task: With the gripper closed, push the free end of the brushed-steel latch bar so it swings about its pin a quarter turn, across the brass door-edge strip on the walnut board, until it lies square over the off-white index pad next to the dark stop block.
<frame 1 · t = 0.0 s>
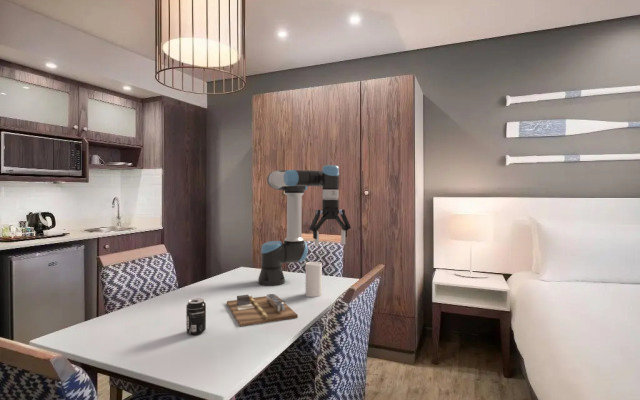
hand: (330, 245, 161), 28 cm above the table, fingers open, 13 cm apart
beverage can: (196, 333, 130), on the table
door board: (260, 310, 154), on the table
latch bar: (275, 301, 154), point 4 cm above the table, hinge at 0.0°
cup: (313, 294, 178), on the table
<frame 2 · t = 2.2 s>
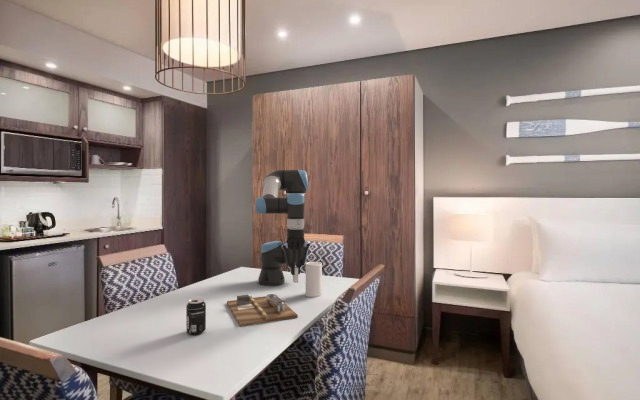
hand: (295, 281, 153), 13 cm above the table, fingers closed
nothing on the table moved.
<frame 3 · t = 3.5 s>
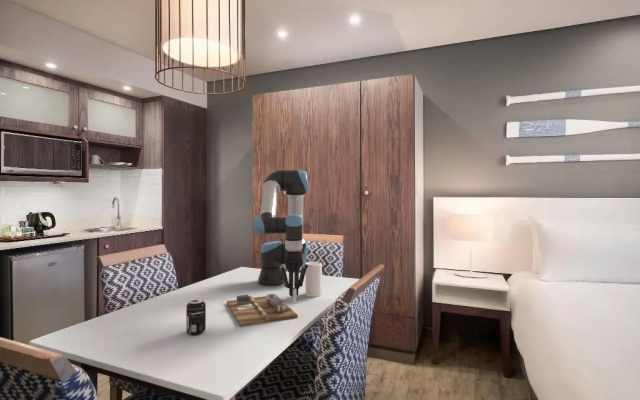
hand: (293, 303, 153), 4 cm above the table, fingers closed
nothing on the table moved.
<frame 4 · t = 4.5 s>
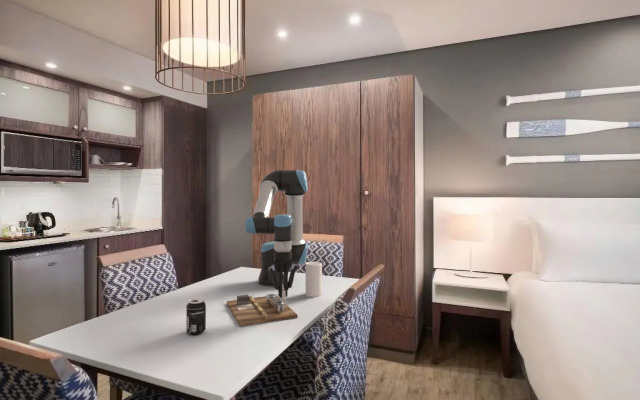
hand: (282, 304, 151), 4 cm above the table, fingers closed
latch bar: (275, 301, 154), point 4 cm above the table, hinge at -0.1°, touching gripper
everything else where it was.
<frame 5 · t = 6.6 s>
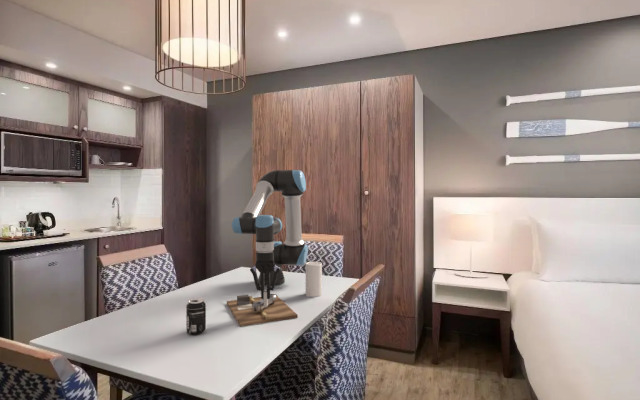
hand: (265, 306, 149), 4 cm above the table, fingers closed
latch bar: (264, 301, 154), point 4 cm above the table, hinge at -43.9°, touching gripper
everything else where it was.
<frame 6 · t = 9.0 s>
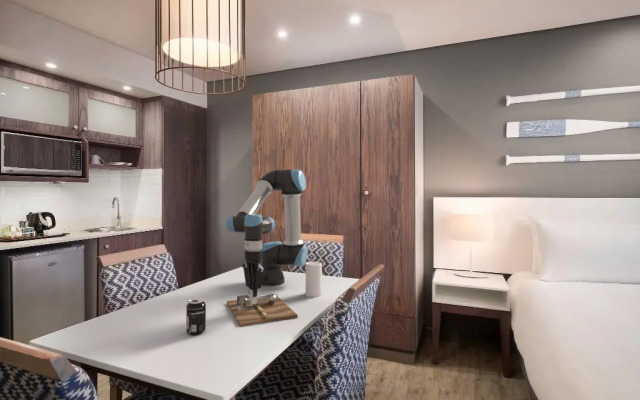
hand: (253, 303, 152), 4 cm above the table, fingers closed
latch bar: (258, 299, 156), point 4 cm above the table, hinge at -85.0°
everything else where it was.
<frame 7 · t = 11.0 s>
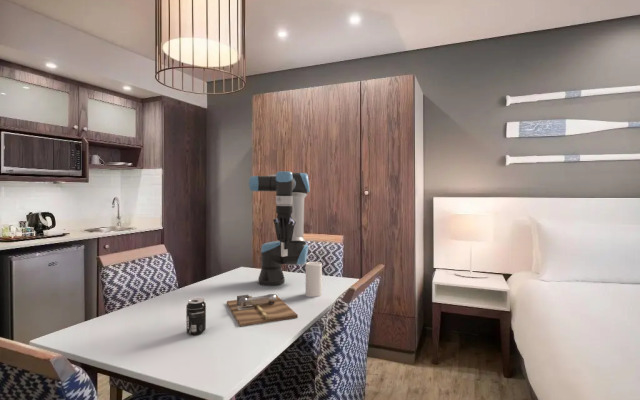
hand: (284, 255, 161), 23 cm above the table, fingers closed
nothing on the table moved.
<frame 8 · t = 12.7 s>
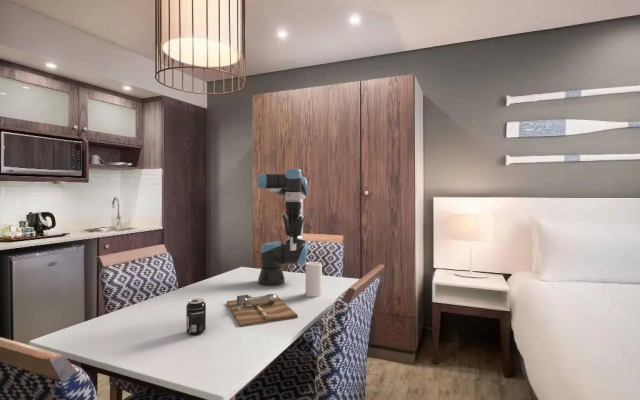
hand: (293, 250, 168), 24 cm above the table, fingers closed
nothing on the table moved.
at the end: latch bar at -85° (first picture: +0°); the gripper is holding nothing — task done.
